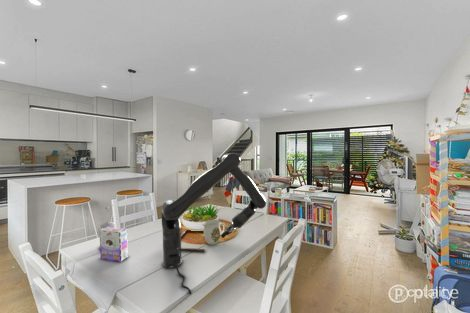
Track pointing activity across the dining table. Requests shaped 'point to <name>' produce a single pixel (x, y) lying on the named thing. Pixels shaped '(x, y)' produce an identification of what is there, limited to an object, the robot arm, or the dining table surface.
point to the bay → (191, 248)
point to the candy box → (113, 244)
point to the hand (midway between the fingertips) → (222, 236)
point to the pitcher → (212, 231)
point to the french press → (107, 224)
